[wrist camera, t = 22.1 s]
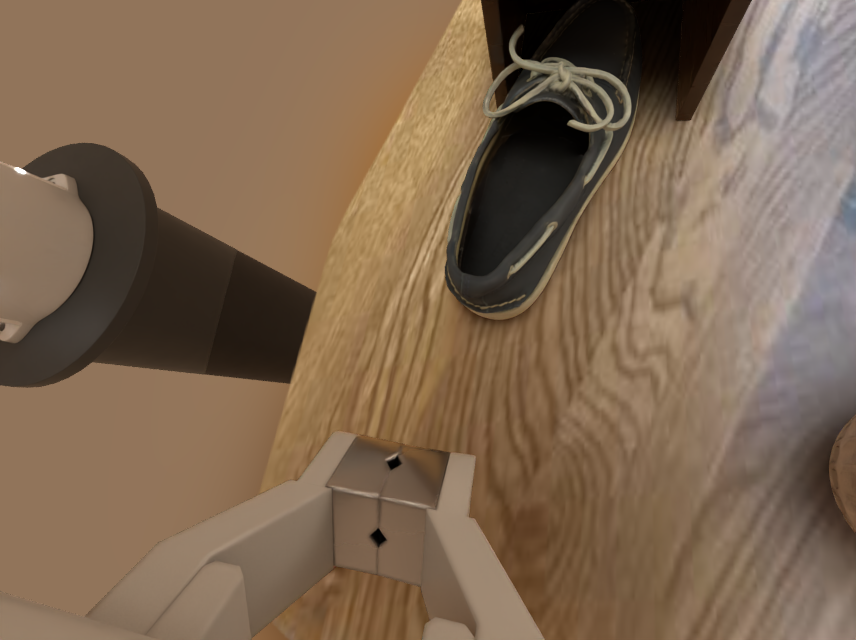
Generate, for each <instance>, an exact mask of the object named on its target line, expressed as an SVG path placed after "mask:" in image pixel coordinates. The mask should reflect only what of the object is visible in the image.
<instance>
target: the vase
mask: <svg viewBox="0 0 856 640" xmlns="http://www.w3.org/2000/svg"><path fill="white" fill-rule="evenodd" d="M829 476H830V482H831V487H832V492H833V494H834V497H835V500H836V503H837V505H838V507H839V509H840V511H841V513H842V514H843V516H844V518H845V520H846V521H847V523H848V524H849V525H850V527H851V528H852V529H853V531H854V532H855V533H856V415H855V416H854V417H853V418H852V419H851V420H849V421H848V422H847V423H846V424H845V426H844V427H843V428H842V430H841V431H840V433H839V434H838V436H837V438H836V440H835V443H834V445H833V447H832V451H831V456H830V461H829Z"/></svg>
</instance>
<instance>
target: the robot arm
mask: <svg viewBox="0 0 856 640" xmlns="http://www.w3.org/2000/svg"><path fill="white" fill-rule="evenodd" d="M92 246H93V224H92V219H91V216H90V213H89V211H88V209H87V208H86V206H85V205H84V204H83V203H82V201H81V200H80V198H79V196H78V189H77V183H76V181H75V179H74V178H72V177H70V176H67V175H65V174H57V175H53V176H49V177H45V178H40V177H37V176H35V175H33V174H30V173H28V172H26V171H24V170H22V169H20V168H16V167H14V166H11V165H9V164H6V163H4V162H2V161H0V340H2V341H5V342H10V343H18V342H19V341H21V340H22V339H23V338H24V337H25V336H26V335H27V334H28V332H29V331H30V330H31V329H32V328H33V326H34V325H35V324H36V323H37V322H39V321H40V320H41V319H43V318H45V317H46V316H48V315H50V314H51V313H53V312H54V311H55V310H56V309H58V308H59V307H60V306H61V305H62V304H63V303H64V302H65V301H66V300H67V299H68V298H69V296H70V295H71V294H72V293H73V291H74V290H75V288H76V287H77V285H78V284H79V282H80V280H81V278H82V276H83V274H84V272H85V270H86V268H87V265H88V262H89V259H90V256H91V251H92ZM475 462H476V457H475V455H469V454H463V453H456V452H445V451H439V450H434V449H428V448H423V447H417V446H412V445H406V444H403V443H398V442H393V441H388V440H383V439H378V438H374V437H369V436H364V435H358V434H353V433H348V432H343V431H336V432H333V433H332V434H331V436H330V437H329V438H328V440H327V441H326V442H325V444H324V445H323V446H322V448H321V449H320V451H319V452H318V453H317V455H316V456H315V457H314V459H313V460H312V461H311V463H310V464H309V465H308V467H307V468H306V470H305V471H304V472H303V474H302V475H301V476H300V478H299V479H298V480H297V481H294V480H288V481H286V482H284V483H282V484H280V485H278V486H276V487H274V488H272V489H270V490H267V491H265V492H263V493H261V494H259V495H257V496H255V497H253V498H251V499H249V500H246V501H244V502H242V503H240V504H238V505H236V506H234V507H232V508H230V509H228V510H226V511H223V512H221V513H219V514H217V515H215V516H213V517H211V518H209V519H207V520H205V521H202V522H200V523H198V524H196V525H194V526H192V527H190V528H188V529H186V530H183V531H181V532H179V533H177V534H175V535H173V536H171V537H169V538H167V539H165V540H163V541H160V542H158V543H157V544H156V545H155V546H154V547H153V548H152V549H151V550H150V551H149V552H148V553H147V554H146V555H145V556H144V557H143V558H142V559H141V560H140V561H139V562H138V563H137V564H136V565H135V566H134V567H133V568H132V569H131V570H130V571H129V572H128V573H127V574H126V576H124V577H123V578H122V579H121V580H120V581H119V582H118V583H117V584H116V585H115V586H114V587H113V588H112V589H111V591H110V592H108V593H107V595H105V596H104V597H103V598H102V599H101V600H100V601H99V602H98V603H97V604H96V606H95V607H93V608H92V609H91V611H89V612H88V614H86V616H85V617H83V616H80V615H76V614H73V613H70V612H66V611H63V610H60V609H57V608H53V607H50V606H47V605H44V604H40V603H37V602H34V601H30V600H27V599H24V598H20V597H17V596H14V595H11V594H7V593H4V592H1V591H0V640H251V638H253V637H254V636H255V635H256V634H257V633H258V632H260V631H261V630H262V629H263V628H264V627H266V626H267V625H268V624H269V623H270V622H271V621H273V620H274V619H275V618H276V617H277V616H279V615H280V614H281V613H282V612H283V611H284V610H286V609H287V608H288V607H289V606H290V605H292V604H293V603H294V602H295V601H296V600H297V599H299V598H300V597H301V596H302V595H303V594H305V593H306V592H307V591H308V590H309V589H310V588H312V587H313V586H314V585H315V584H316V583H317V582H319V581H320V580H321V579H322V578H323V577H325V576H326V575H327V574H328V573H329V572H330V571H332V570H333V569H334V566H337V567H342V568H347V569H351V570H356V571H361V572H365V573H370V574H375V575H379V576H383V577H386V578H390V579H393V580H397V581H401V582H404V583H408V584H411V585H415V586H419V587H421V592H422V595H423V599H424V602H425V606H426V609H427V613H428V616H429V619H430V621H429V622H427V623H426V624H425V627H424V631H423V636H422V640H545V639H544V637H543V635H542V634H541V632H540V630H539V628H538V627H537V625H536V623H535V622H534V620H533V618H532V616H531V615H530V613H529V611H528V609H527V608H526V606H525V604H524V603H523V601H522V599H521V597H520V596H519V594H518V592H517V590H516V589H515V587H514V585H513V584H512V582H511V580H510V578H509V577H508V575H507V573H506V571H505V570H504V568H503V566H502V565H501V563H500V561H499V559H498V558H497V556H496V554H495V553H494V551H493V549H492V547H491V546H490V544H489V542H488V540H487V539H486V537H485V535H484V534H483V532H482V530H481V528H480V527H479V525H478V523H477V521H476V520H475V519H474V518H470V517H469V511H470V503H471V495H472V487H473V478H474V470H475Z"/></svg>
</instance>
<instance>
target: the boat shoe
mask: <svg viewBox="0 0 856 640" xmlns="http://www.w3.org/2000/svg"><path fill="white" fill-rule="evenodd" d="M523 31H524V27H523V25H522V24H521V25H520V26H519V27H518V28H517V29H516V30H515V32H514V33H513V35H512V37H511V39H510V42H509V51H510V54H511V58H512V59H513V61H514V62H515V63H513V64H511V65H510V66H508V67H507V68H506V69H504V70H503V71H502V72H501V73H500V74H499V75H498V77H497V78H496V79H495V80H494V82H493V83H492V85H491V86H490V88H489V89H488V91H487V94H486V96H485V99H484V102H483V112H484V114H485V115H486V116H487V117H489V118H492V120H491V122H490V124H489V127H488V129H487V131H486V133H485V136H484V138H483V140H482V142H481V144H480V146H479V147H478V149H477V152H476V154H475V156H474V158H473V160H472V162H471V164H470V166H469V169H468V171H467V174H466V177H465V180H464V182H463V184H462V186H461V194H460V196H459V197H458V199H457V201H456V203H455V206H454V209H453V213H452V216H451V221H450V225H449V231H448V245H447V262H446V265H445V275H446V277H445V278H446V282H447V286H448V288H449V290H450V291H451V292H452V293H453V294H454V296H455V297H456V298H457V299H458V300H459V301H460V302H461V303H462V304H463V305H464V306H466V307H467V308H468V309H469V310H471V311H472V312H474V313H475V314H477V315H479V316H482V317H485V318H489V319H493V320H504V319H509V318H512V317H515V316H517V315H519V314H521V313H523V312H524V311H525V310H527V309H528V308H529V307H530V306H531V305H532V304H533V303H534V302H535V301H536V299H537V298H538V297H539V295H540V294H541V293H542V291H543V289H544V288H545V286H546V284H547V283H548V281H549V279H550V277H551V276H552V274H553V272H554V270H555V268H556V266H557V264H558V262H559V260H560V258H561V256H562V254H563V252H564V250H565V247H566V245H567V243H568V241H569V238H570V236H571V234H572V232H573V229H574V227H575V225H576V223H577V221H578V220H579V218H580V216H581V214H582V213H583V211H584V209H585V208H586V206H587V205H588V203H589V201H590V200H591V198H592V197H593V195H594V194H595V192H596V191H597V189H598V188H599V187H600V185H601V184H602V182H603V181H604V180H605V178H606V177H607V175H608V174H609V173H610V171H611V170H612V168H613V167H614V165H615V164H616V162H617V161H618V159H619V158H620V156H621V154H622V152H623V151H624V149H625V147H626V144H627V142H628V140H629V138H630V135H631V132H632V129H633V126H634V122H635V117H636V112H637V107H638V100H639V92H640V82H641V73H642V46H641V36H640V29H639V24H638V20H637V17H636V15H635V12H634V8H633V7H632V6H631V3H629V2H628V1H627V0H577V1H576V2H575V3H574V4H573V5H572V6H571V7H570V8H569V9H568V10H567V11H566V13H565V14H564V15H563V16H562V17H561V18H560V20H559V21H558V22H557V23H556V25H555V26H554V27H553V29H552V31H551V32H550V33H549V34H548V36H547V37H546V38H545V39H544V41H543V42H542V44H541V45H540V46H539V47H538V48H537V50H536V51H535V53H534V54H533V56H532V57H531V59H530V60H523V59H521V58H520V57H519V56H518V55H517V54H516V52H515V44H516V41H517V39H518V38H519V36H520V35H521V33H522V32H523ZM519 68H524V70H523V71H522V72H521V74H520V75H519V77H518V78H517V80H516V82H515V83H514V85H513V87H512V88H511V90H510V92H509V93H508V95H507V97H506V99H505V101H504V103H503V104H502V105H500V106H499V108H498V109H497V111H496V112H491V111H490V110H489V103H490V100H491V98H492V96H493V94H494V92H495V90H496V88H497V87H498V86H499V84H500V83H501V82H502V80H503V79H504V78H506V77H507V76H508V75H509V74H510V73H512V72H513V71H514V70H517V69H519Z"/></svg>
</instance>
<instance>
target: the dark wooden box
mask: <svg viewBox="0 0 856 640" xmlns="http://www.w3.org/2000/svg"><path fill="white" fill-rule="evenodd" d="M576 1H577V0H481V3H482V10H483V17H484V23H485V30H486V37H487V44H488V50H489V57H490V64H491V71H492V78H493V82H494V80H495V79H496V78H497V77H498V75H499V74H500V73H501V72H502V71H503V70H504V69H506V68H507V67H508V66H510V65H511V64H513V63H515V62H514V61H513V59H512V58H511V54H510V51H509V42H510V39H511V37H512V35H513V33H514V32H515V30H516V29H517V28H518V27H519V26H520V25H521V24H522V25H523V27H524V31H523V32H522V33H521V35H520V36H519V38H518V39H517V41H516V44H515V52H516V54H517V55H518V56H519V57H520V58H521V54H522V47H523V40H524V33H525V26H526V19H527V14H532V13H541V12H550V11H559V10H568V9H569V8H570V7H571V6H572V5H573V4H574V3H575V2H576ZM627 1H628V2H629V3H631V2H640V1H649V0H627ZM751 1H752V0H683V8H682V25H681V41H680V57H679V73H678V89H677V105H676V120H691V118H692V116H693V114H694V112H695V110H696V108H697V106H698V104H699V102H700V101H701V99H702V97H703V95H704V93H705V91H706V89H707V87H708V85H709V83H710V81H711V79H712V77H713V75H714V73H715V71H716V69H717V67H718V65H719V63H720V61H721V59H722V57H723V55H724V54H725V52H726V50H727V48H728V46H729V44H730V42H731V40H732V38H733V36H734V34H735V32H736V30H737V28H738V26H739V24H740V22H741V20H742V18H743V16H744V14H745V12H746V10H747V9H748V7H749V5H750V3H751ZM518 75H519V69H517V70H514V71H513V72H512V73H510V74H509V75H508V76H507V77H506V78H504V79H503V80H502V82H501V83H500V84H499V86H498V87H497V88H496V90H495V98H496V105H497V109H498V108H499V106H500V105H502V104H503V103H504V101H505V99H506V97H507V95H508V93H509V92H510V90H511V88H512V87H513V85H514V83H515V82H516V80H517V78H518Z"/></svg>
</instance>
